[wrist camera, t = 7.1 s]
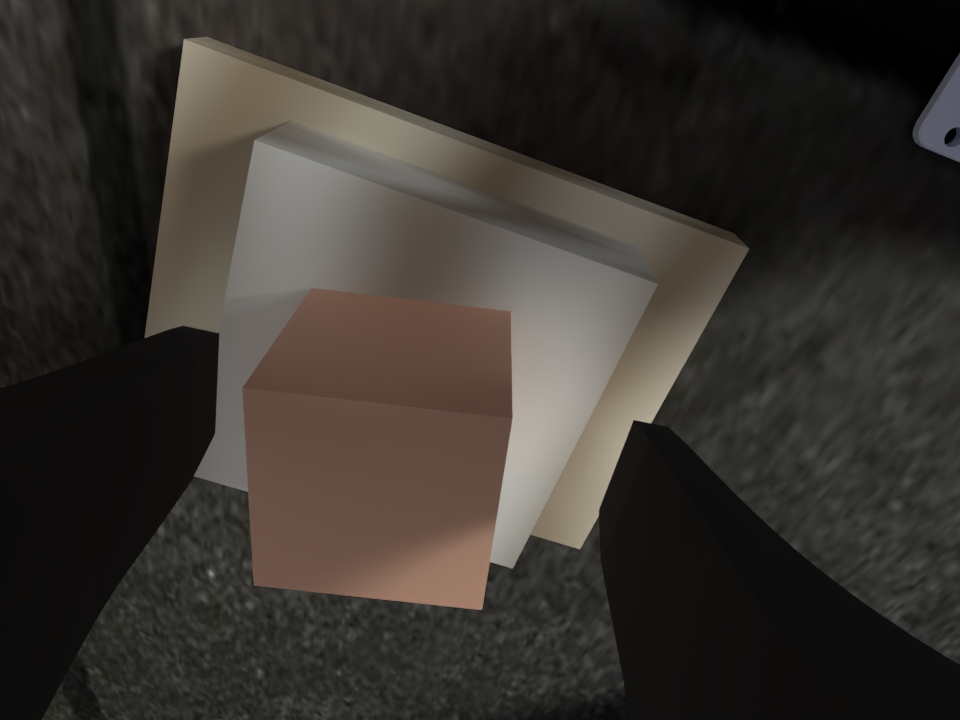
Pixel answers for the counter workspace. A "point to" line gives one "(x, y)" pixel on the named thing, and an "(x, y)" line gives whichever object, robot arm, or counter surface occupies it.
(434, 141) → the base
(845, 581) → the counter surface
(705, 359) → the counter surface
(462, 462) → the cube
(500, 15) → the counter surface
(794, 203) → the counter surface
